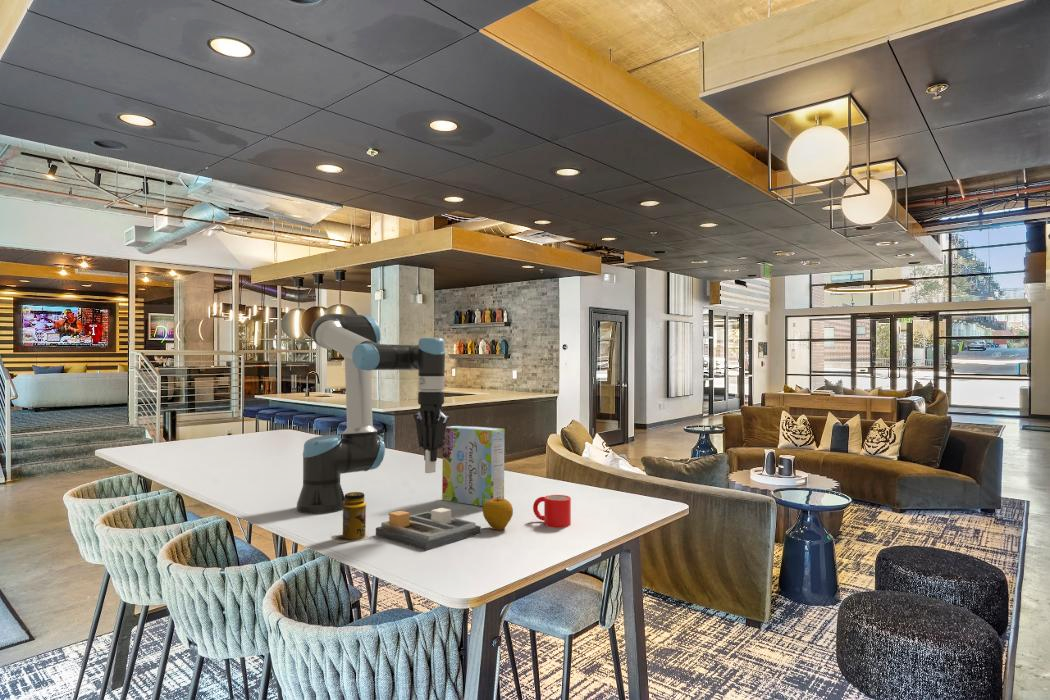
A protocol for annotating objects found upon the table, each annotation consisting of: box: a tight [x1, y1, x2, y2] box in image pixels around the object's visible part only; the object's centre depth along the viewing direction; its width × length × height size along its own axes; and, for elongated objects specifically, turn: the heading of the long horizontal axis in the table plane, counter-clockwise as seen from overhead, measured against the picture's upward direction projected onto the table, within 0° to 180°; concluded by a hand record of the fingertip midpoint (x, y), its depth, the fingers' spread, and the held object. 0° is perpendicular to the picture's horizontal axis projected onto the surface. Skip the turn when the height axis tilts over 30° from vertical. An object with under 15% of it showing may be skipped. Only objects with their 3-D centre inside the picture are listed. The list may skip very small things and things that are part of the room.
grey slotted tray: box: [375, 511, 482, 551], centre depth 167 cm, size 21×20×3 cm
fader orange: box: [388, 510, 411, 527], centre depth 167 cm, size 4×4×4 cm
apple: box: [482, 498, 514, 531], centre depth 173 cm, size 9×9×9 cm
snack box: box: [441, 425, 506, 507], centre depth 207 cm, size 22×9×26 cm, turn 58°
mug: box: [532, 494, 572, 529], centre depth 180 cm, size 8×12×8 cm, turn 65°
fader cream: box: [430, 507, 452, 524], centre depth 171 cm, size 4×4×4 cm
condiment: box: [331, 491, 370, 544], centre depth 164 cm, size 7×8×12 cm
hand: (430, 472), depth 174 cm, fingers closed
